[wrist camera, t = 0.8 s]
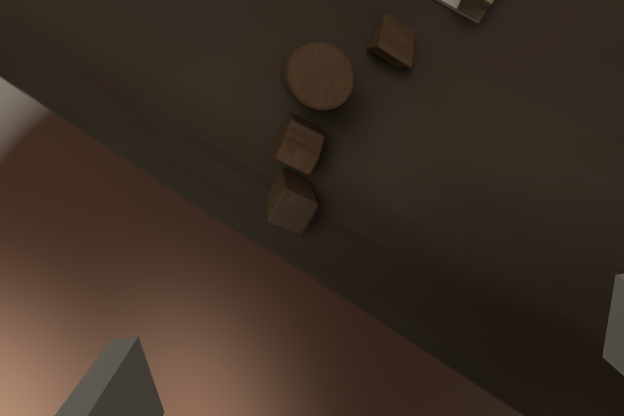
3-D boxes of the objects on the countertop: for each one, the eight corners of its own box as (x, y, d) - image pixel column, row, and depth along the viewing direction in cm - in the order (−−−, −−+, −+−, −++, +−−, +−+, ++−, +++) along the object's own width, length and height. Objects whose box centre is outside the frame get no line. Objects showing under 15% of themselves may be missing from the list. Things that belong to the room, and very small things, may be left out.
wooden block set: (310, 210, 36) (326, 262, 27) (228, 173, 34) (215, 217, 24) (407, 34, 31) (471, 22, 22) (320, -24, 29) (348, -65, 19)
